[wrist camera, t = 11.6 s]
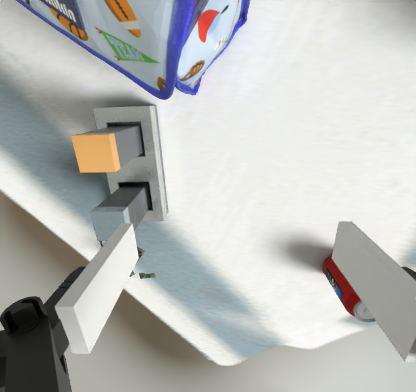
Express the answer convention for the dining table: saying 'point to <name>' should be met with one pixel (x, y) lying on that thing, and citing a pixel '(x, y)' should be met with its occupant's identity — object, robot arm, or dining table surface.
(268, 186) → the dining table surface
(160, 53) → the lunch bag
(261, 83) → the dining table surface
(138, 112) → the pdu strip
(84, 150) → the plug
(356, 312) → the beverage can
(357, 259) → the robot arm
